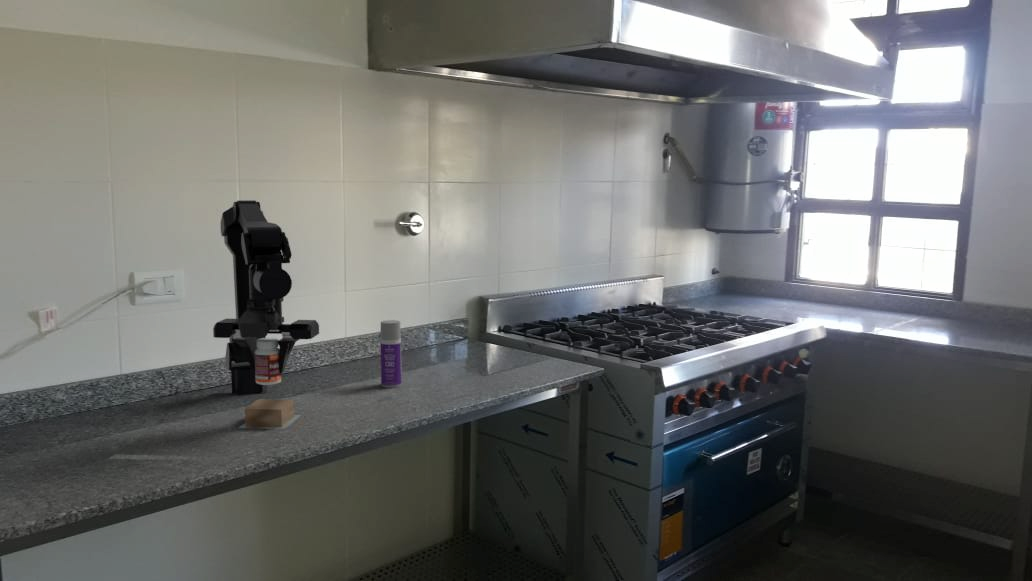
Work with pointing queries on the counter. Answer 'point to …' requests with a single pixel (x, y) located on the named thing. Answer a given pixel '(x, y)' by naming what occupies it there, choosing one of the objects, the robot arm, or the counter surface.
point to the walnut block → (269, 413)
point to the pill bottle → (267, 361)
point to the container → (390, 354)
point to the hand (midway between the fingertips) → (268, 372)
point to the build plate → (273, 427)
